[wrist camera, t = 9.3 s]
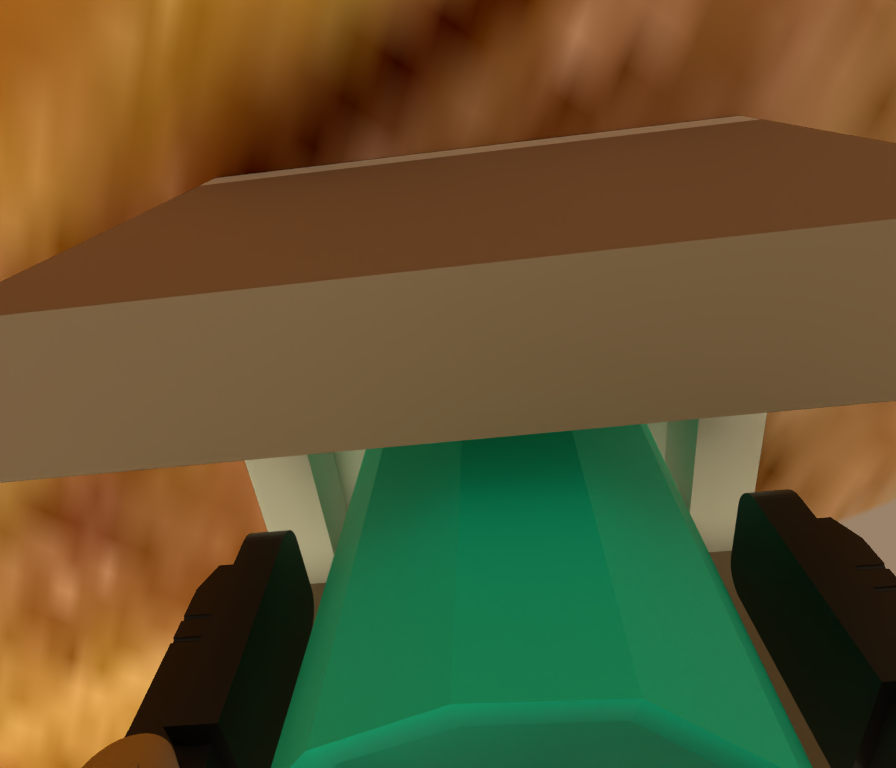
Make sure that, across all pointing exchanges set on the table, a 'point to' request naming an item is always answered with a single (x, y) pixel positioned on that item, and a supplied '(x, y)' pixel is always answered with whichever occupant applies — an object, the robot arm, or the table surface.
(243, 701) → the robot arm
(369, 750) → the candle
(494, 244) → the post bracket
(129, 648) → the table surface
